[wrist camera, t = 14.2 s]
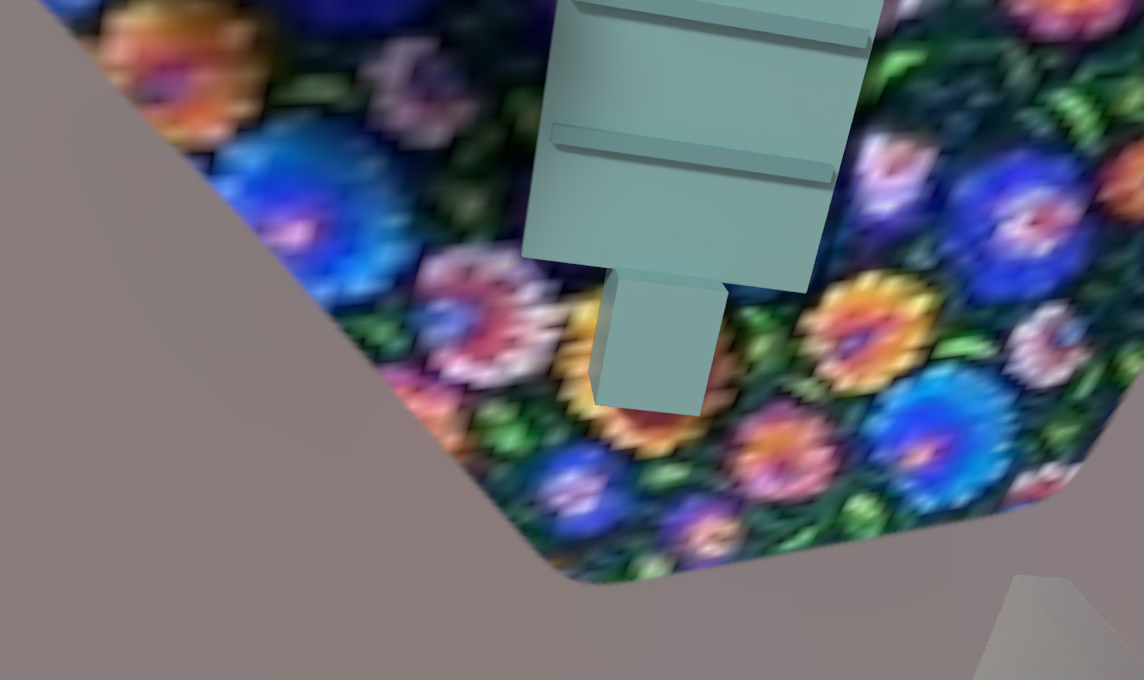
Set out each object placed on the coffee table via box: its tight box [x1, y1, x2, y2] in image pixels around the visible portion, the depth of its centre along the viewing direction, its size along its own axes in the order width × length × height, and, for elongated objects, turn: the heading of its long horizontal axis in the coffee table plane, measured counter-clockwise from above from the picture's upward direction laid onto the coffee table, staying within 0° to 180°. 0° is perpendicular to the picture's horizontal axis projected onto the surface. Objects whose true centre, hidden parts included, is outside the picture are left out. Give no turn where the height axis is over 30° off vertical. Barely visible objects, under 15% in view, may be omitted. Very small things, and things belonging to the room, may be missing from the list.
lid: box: [521, 0, 884, 416], centre depth 32 cm, size 19×11×3 cm, turn 171°
